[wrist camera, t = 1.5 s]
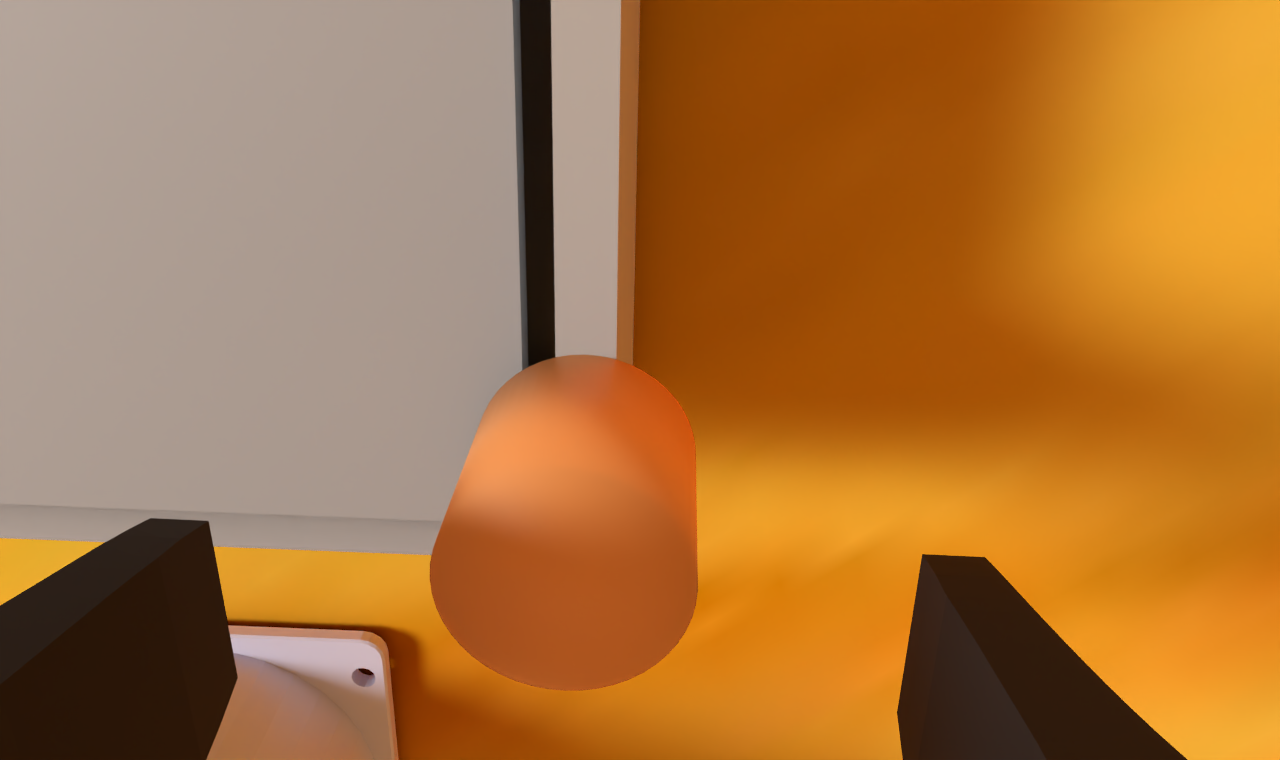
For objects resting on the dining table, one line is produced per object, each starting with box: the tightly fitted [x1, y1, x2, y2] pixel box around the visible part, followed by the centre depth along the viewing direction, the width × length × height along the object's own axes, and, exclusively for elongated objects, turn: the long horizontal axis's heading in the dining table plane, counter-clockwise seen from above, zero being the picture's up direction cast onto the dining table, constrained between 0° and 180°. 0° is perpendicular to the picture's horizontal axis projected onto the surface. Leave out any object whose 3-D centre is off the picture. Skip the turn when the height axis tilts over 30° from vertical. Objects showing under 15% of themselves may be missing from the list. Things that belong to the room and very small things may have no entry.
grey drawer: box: [430, 0, 698, 690], centre depth 14 cm, size 15×3×9 cm, turn 179°
